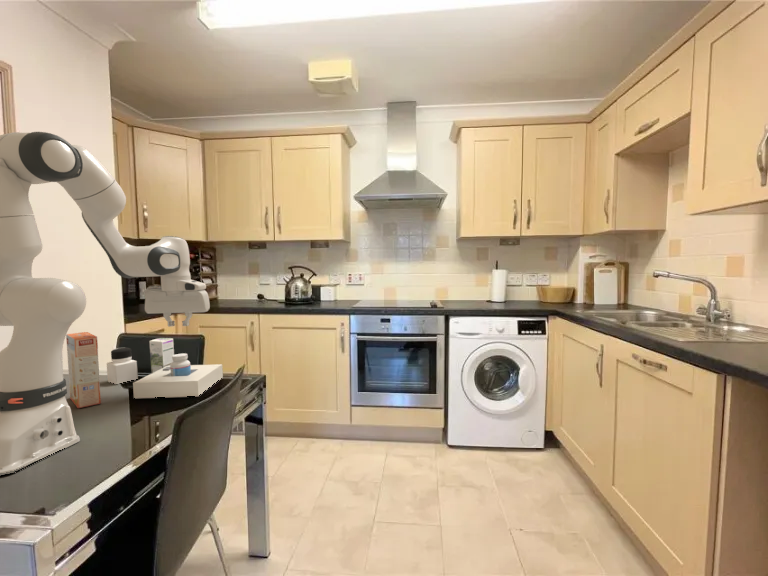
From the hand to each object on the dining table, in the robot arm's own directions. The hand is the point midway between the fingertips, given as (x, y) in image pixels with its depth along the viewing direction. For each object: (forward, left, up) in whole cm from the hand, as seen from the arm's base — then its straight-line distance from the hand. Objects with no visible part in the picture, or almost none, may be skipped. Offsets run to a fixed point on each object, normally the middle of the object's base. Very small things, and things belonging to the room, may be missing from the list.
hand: (178, 326), depth 128 cm
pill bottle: (0, 0, -21) cm, 21 cm away
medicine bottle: (+10, +26, -21) cm, 35 cm away
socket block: (0, 0, -21) cm, 21 cm away
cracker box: (-11, +24, -21) cm, 34 cm away
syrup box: (+13, +13, -21) cm, 28 cm away
